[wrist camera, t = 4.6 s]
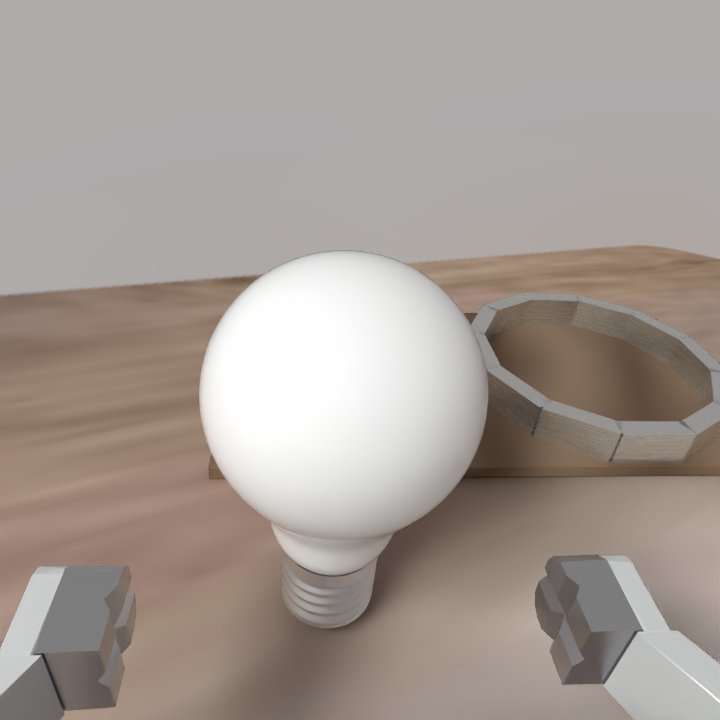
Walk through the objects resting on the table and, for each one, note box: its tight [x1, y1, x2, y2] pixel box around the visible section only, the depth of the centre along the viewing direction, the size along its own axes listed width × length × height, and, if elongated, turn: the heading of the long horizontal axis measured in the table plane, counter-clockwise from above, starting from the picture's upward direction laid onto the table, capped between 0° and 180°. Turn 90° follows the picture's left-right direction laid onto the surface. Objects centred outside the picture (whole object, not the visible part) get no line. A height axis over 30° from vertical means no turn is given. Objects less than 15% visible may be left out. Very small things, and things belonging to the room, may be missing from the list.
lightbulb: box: [199, 250, 488, 629], centre depth 14 cm, size 6×6×11 cm
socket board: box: [209, 293, 720, 479], centre depth 27 cm, size 24×12×2 cm, turn 95°
